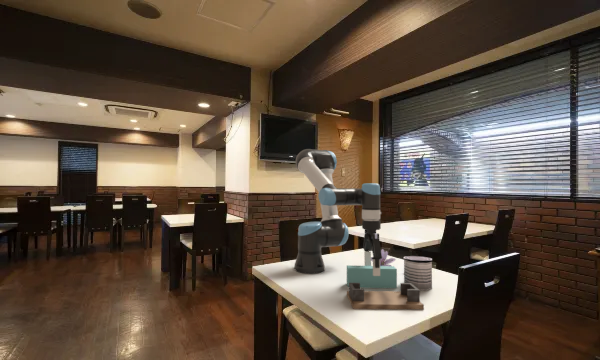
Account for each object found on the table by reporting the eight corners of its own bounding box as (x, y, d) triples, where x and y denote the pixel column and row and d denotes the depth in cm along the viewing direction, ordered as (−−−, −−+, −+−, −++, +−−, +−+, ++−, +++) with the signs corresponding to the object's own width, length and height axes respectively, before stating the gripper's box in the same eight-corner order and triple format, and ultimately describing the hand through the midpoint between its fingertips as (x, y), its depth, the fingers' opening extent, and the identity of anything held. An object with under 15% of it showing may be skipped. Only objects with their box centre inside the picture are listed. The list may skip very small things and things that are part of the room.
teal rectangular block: (347, 287, 113) (348, 268, 113) (346, 284, 117) (346, 265, 117) (396, 288, 112) (396, 269, 112) (393, 285, 116) (393, 266, 116)
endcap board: (353, 308, 92) (353, 292, 92) (346, 294, 104) (346, 280, 104) (423, 309, 92) (423, 292, 92) (409, 295, 104) (409, 280, 104)
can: (403, 288, 112) (403, 258, 112) (403, 279, 123) (403, 252, 123) (433, 292, 108) (433, 261, 108) (431, 283, 118) (431, 255, 119)
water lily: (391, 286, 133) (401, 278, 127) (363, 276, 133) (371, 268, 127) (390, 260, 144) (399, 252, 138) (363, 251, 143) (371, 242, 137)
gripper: (390, 222, 103) (390, 280, 102) (372, 217, 128) (372, 263, 126) (370, 222, 103) (370, 280, 102) (356, 217, 128) (356, 263, 126)
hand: (371, 270), depth 114 cm, fingers open, 13 cm apart
